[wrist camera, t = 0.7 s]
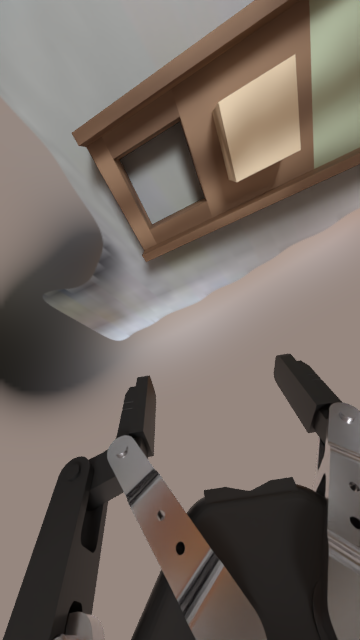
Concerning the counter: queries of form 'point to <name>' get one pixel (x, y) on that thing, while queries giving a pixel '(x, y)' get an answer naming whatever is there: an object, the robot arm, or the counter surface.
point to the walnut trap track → (221, 81)
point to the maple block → (259, 122)
